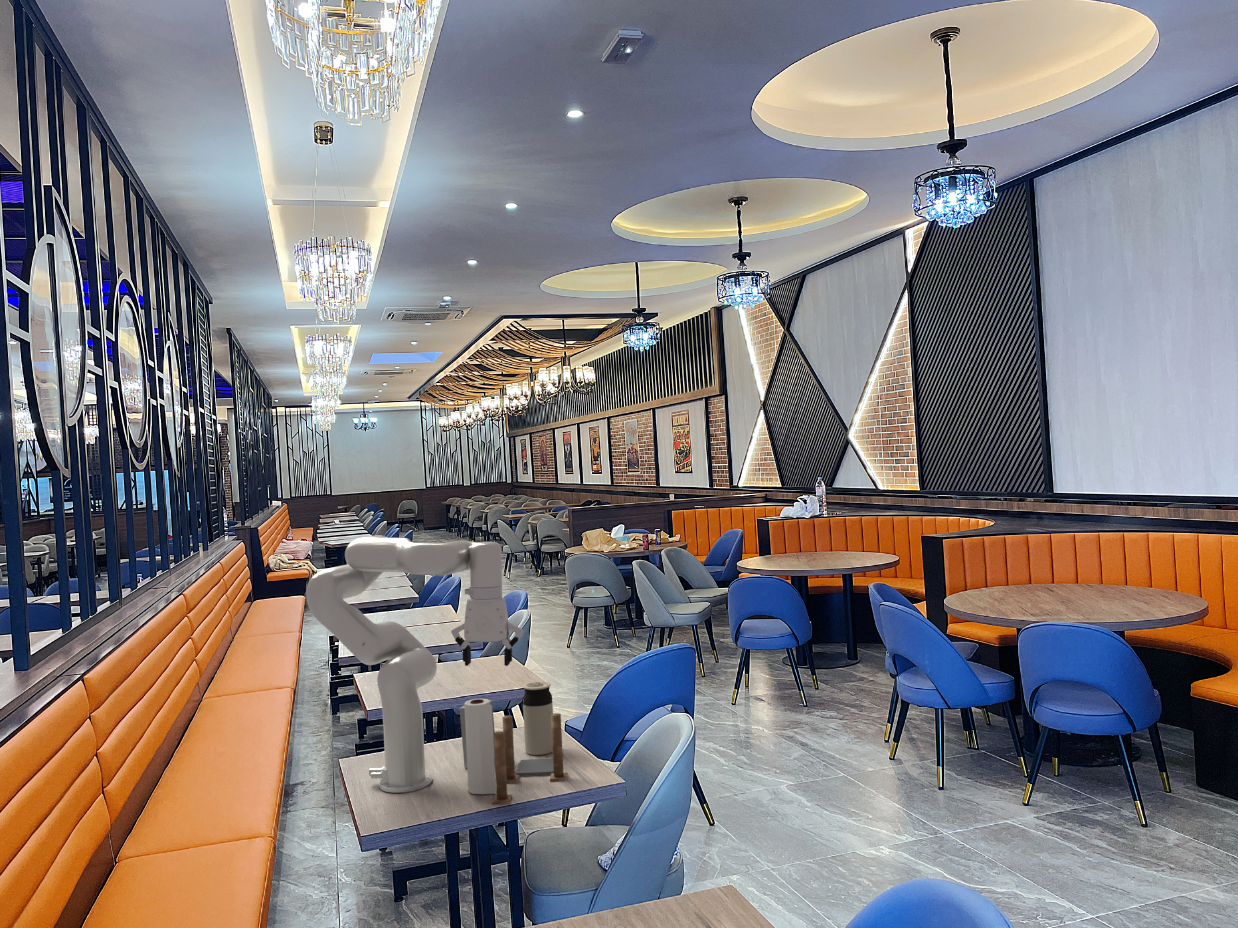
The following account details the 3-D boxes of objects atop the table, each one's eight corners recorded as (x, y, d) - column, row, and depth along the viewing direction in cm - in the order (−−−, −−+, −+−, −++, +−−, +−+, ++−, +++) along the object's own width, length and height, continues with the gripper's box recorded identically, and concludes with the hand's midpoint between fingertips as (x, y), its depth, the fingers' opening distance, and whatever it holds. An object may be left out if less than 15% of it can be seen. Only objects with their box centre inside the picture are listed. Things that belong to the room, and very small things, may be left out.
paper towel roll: (467, 787, 206) (463, 699, 207) (492, 784, 208) (488, 696, 208) (470, 798, 199) (465, 706, 200) (496, 794, 201) (491, 703, 201)
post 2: (501, 783, 208) (498, 719, 208) (503, 777, 212) (500, 714, 212) (517, 782, 208) (514, 718, 208) (519, 776, 212) (516, 714, 212)
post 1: (492, 804, 195) (489, 735, 195) (495, 797, 199) (491, 730, 199) (509, 803, 195) (506, 735, 195) (512, 796, 199) (508, 729, 199)
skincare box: (487, 769, 219) (484, 707, 219) (460, 768, 220) (457, 707, 221) (498, 758, 227) (495, 698, 227) (472, 757, 229) (470, 698, 229)
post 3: (550, 781, 208) (546, 717, 208) (551, 775, 212) (548, 712, 212) (566, 780, 208) (563, 716, 208) (567, 774, 212) (564, 711, 212)
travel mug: (527, 757, 227) (524, 689, 227) (523, 748, 234) (520, 682, 235) (557, 753, 229) (553, 686, 229) (552, 744, 236) (548, 679, 237)
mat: (515, 776, 213) (515, 773, 213) (521, 762, 223) (520, 759, 223) (555, 774, 212) (555, 771, 212) (559, 760, 222) (559, 757, 222)
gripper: (446, 595, 202) (448, 668, 202) (518, 595, 201) (520, 668, 201) (455, 591, 209) (456, 660, 209) (524, 590, 208) (526, 660, 208)
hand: (487, 664), depth 205 cm, fingers open, 9 cm apart
